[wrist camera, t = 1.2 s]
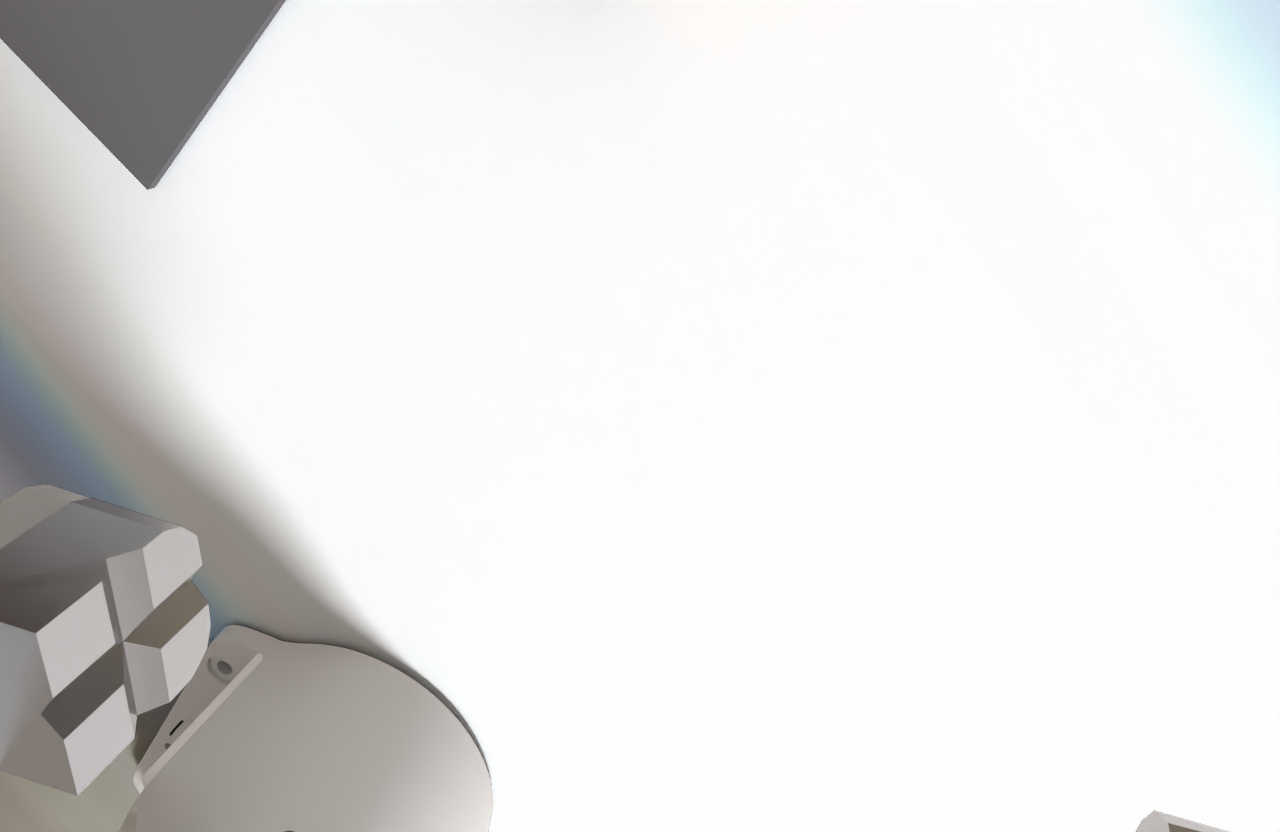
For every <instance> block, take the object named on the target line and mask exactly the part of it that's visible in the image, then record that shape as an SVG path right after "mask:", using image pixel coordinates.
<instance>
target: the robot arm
mask: <svg viewBox="0 0 1280 832" xmlns="http://www.w3.org/2000/svg"><path fill="white" fill-rule="evenodd" d="M202 566H203V563H202V558H201V553H200V548H199V543H198V537H197V535H196V534H194V533H192V532H190V531H189V530H187V529H185V528H183V527H182V526H178V525H175V524H172V523H169V522H166V521H163V520H160V519H157V518H154V517H151V516H147V515H144V514H141V513H138V512H135V511H132V510H129V509H126V508H123V507H120V506H116V505H113V504H110V503H107V502H104V501H101V500H98V499H95V498H88V497H85V496H82V495H78V494H75V493H72V492H69V491H66V490H63V489H60V488H57V487H54V486H51V485H48V484H45V485H38V486H31V487H25V488H23V489H21V490H20V491H18V492H17V493H15V494H14V495H12V496H10V497H9V498H7V499H6V500H4V501H3V502H1V503H0V771H3V772H6V773H9V774H12V775H16V776H19V777H22V778H25V779H28V780H31V781H34V782H37V783H40V784H43V785H46V786H49V787H52V788H55V789H58V790H61V791H64V792H68V793H71V794H74V795H77V796H78V795H79V794H80V793H81V792H82V791H83V790H84V789H85V788H86V787H87V786H88V785H89V784H90V783H91V782H92V781H93V780H94V779H95V778H96V777H97V776H98V775H99V774H100V773H101V772H102V771H103V770H104V769H105V768H106V767H107V766H108V765H109V764H110V763H111V762H112V761H113V760H114V759H115V758H116V757H117V756H118V755H119V754H120V753H121V752H122V751H123V750H124V749H125V748H126V746H127V745H128V744H129V743H130V742H131V741H132V740H133V739H134V737H135V729H136V721H137V715H139V714H142V713H144V712H147V711H149V710H152V709H154V708H157V707H159V706H162V705H164V704H167V703H169V702H171V701H172V699H173V698H174V697H175V696H176V695H177V694H178V693H179V692H180V691H181V690H182V689H183V688H184V687H185V688H184V689H183V691H182V693H181V694H180V696H179V698H178V699H177V701H176V703H175V704H174V706H173V708H172V709H171V711H170V713H169V714H168V716H167V718H166V719H165V721H164V723H163V724H162V726H161V728H160V730H159V731H158V733H157V735H156V736H155V738H154V740H153V741H152V743H151V745H150V746H149V748H148V750H147V751H146V753H145V755H144V756H143V758H142V760H141V761H140V763H139V765H138V767H137V768H136V770H135V772H134V775H133V781H134V784H135V786H136V788H137V790H138V792H139V794H140V795H139V796H138V798H137V799H136V801H135V802H134V804H133V806H132V808H131V809H130V811H129V813H128V815H127V817H126V819H125V821H124V823H123V824H122V826H121V828H120V830H119V832H489V827H490V822H491V817H492V811H493V792H492V786H491V780H490V777H489V773H488V770H487V767H486V765H485V762H484V760H483V758H482V755H481V753H480V752H479V750H478V748H477V746H476V744H475V743H474V741H473V739H472V738H471V736H470V735H469V733H468V732H467V730H466V729H465V728H464V727H463V725H462V724H461V723H460V721H459V720H458V719H457V718H456V717H455V716H454V714H453V713H452V712H451V711H450V710H449V709H448V708H447V707H446V706H445V705H444V704H443V703H442V702H441V701H440V700H439V699H438V698H437V697H435V696H434V695H433V694H432V693H431V692H429V691H428V690H427V689H426V688H424V687H423V686H422V685H420V684H419V683H418V682H416V681H415V680H413V679H412V678H411V677H409V676H407V675H406V674H404V673H403V672H401V671H399V670H397V669H396V668H394V667H392V666H390V665H388V664H386V663H384V662H382V661H380V660H378V659H375V658H373V657H371V656H368V655H365V654H363V653H360V652H357V651H353V650H350V649H346V648H342V647H337V646H331V645H324V644H307V643H291V642H285V641H280V640H278V639H276V638H273V637H271V636H268V635H266V634H264V633H261V632H259V631H256V630H253V629H250V628H247V627H244V626H239V625H228V626H226V627H224V628H223V629H222V630H221V631H220V633H219V634H218V635H217V636H216V637H215V639H214V640H213V641H212V642H211V644H210V646H209V647H208V649H207V646H208V640H209V634H210V628H211V621H210V613H209V605H208V602H207V601H206V600H205V598H204V597H203V595H202V594H201V593H200V591H199V590H198V589H197V587H196V586H195V584H194V583H193V582H192V580H191V579H192V578H193V577H194V575H195V574H196V573H197V572H198V570H199V569H200V568H201V567H202ZM206 650H207V651H206ZM1136 832H1229V831H1225V830H1222V829H1218V828H1215V827H1211V826H1208V825H1204V824H1201V823H1197V822H1194V821H1190V820H1186V819H1183V818H1179V817H1176V816H1172V815H1169V814H1165V813H1162V812H1158V811H1155V810H1154V811H1153V812H1152V813H1151V814H1149V815H1148V816H1147V817H1146V818H1144V819H1143V820H1142V821H1141V823H1140V825H1139V826H1138V828H1137V830H1136Z"/></svg>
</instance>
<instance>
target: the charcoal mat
mask: <svg viewBox="0 0 1280 832" xmlns="http://www.w3.org/2000/svg"><path fill="white" fill-rule="evenodd" d="M284 2H285V0H0V38H1V39H2V40H3V41H4V42H5V43H6V44H7V46H8V47H9V48H10V49H11V50H12V51H13V52H14V53H15V54H16V55H17V56H18V57H19V58H20V59H21V60H22V61H23V62H24V63H25V64H26V65H27V66H28V67H29V68H30V69H31V70H32V71H33V72H34V73H35V74H36V75H37V76H38V77H39V78H40V79H41V81H42V82H43V83H44V84H45V85H46V86H47V87H48V88H49V89H50V90H51V91H52V92H53V93H54V94H55V95H56V96H57V97H58V98H59V99H60V100H61V101H62V102H63V103H64V104H65V105H66V106H67V107H68V108H69V109H70V110H71V111H72V112H73V113H74V115H75V116H76V117H77V118H78V119H79V120H80V121H81V122H82V123H83V124H84V125H85V126H86V127H87V128H88V129H89V130H90V131H91V132H92V133H93V134H94V135H95V136H96V137H97V138H98V139H99V140H100V141H101V142H102V143H103V144H104V145H105V146H106V147H107V148H108V150H109V151H110V152H111V153H112V154H113V155H114V156H115V157H116V158H117V159H118V160H119V161H120V162H121V163H122V164H123V165H124V166H125V167H126V168H127V169H128V170H129V171H130V172H131V173H132V174H133V175H134V176H135V177H136V178H137V179H138V180H139V181H140V182H141V184H142V185H143V186H144V187H145V188H146V189H147V190H148V189H151V188H154V187H155V186H156V185H157V183H158V182H159V181H160V179H161V178H162V176H163V175H164V173H165V172H166V171H167V169H168V168H169V166H170V165H171V163H172V162H173V161H174V159H175V158H176V156H177V155H178V153H179V152H180V151H181V149H182V148H183V146H184V145H185V143H186V142H187V141H188V139H189V138H190V136H191V135H192V133H193V132H194V131H195V129H196V128H197V126H198V125H199V123H200V122H201V121H202V119H203V118H204V116H205V115H206V113H207V112H208V111H209V109H210V108H211V106H212V105H213V103H214V102H215V101H216V99H217V98H218V96H219V95H220V93H221V92H222V91H223V89H224V88H225V86H226V85H227V83H228V82H229V81H230V79H231V78H232V76H233V75H234V73H235V72H236V71H237V69H238V68H239V66H240V65H241V63H242V62H243V61H244V59H245V58H246V56H247V55H248V53H249V52H250V51H251V49H252V48H253V46H254V45H255V43H256V42H257V41H258V39H259V38H260V36H261V35H262V33H263V32H264V31H265V29H266V28H267V26H268V25H269V23H270V22H271V21H272V19H273V18H274V16H275V15H276V13H277V12H278V10H279V9H280V8H281V6H282V5H283V3H284Z"/></svg>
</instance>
